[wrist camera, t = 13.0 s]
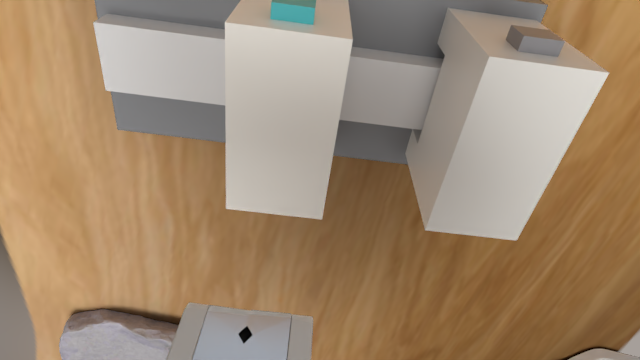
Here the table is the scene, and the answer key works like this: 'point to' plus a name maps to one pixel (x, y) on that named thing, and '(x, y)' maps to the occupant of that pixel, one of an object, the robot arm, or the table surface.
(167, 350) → the stone block
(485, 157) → the white grey-marked block
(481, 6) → the rail plate
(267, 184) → the block
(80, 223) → the table surface
